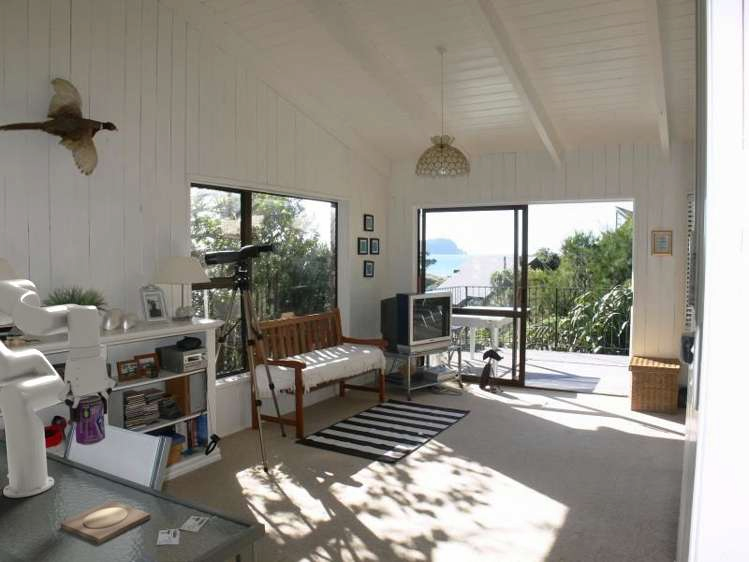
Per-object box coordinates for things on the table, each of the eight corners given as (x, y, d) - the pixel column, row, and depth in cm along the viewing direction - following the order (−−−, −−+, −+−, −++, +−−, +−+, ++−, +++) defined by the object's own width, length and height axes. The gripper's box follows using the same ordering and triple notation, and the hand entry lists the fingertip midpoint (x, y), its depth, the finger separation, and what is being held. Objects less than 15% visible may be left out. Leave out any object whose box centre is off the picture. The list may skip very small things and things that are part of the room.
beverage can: (93, 447, 154) (91, 402, 153) (70, 445, 155) (67, 401, 154) (111, 438, 160) (108, 395, 160) (88, 436, 162) (85, 394, 161)
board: (60, 527, 145) (60, 521, 145) (111, 504, 157) (111, 499, 157) (100, 543, 137) (99, 537, 137) (150, 518, 149) (150, 512, 149)
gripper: (106, 345, 165) (109, 407, 167) (44, 357, 150) (49, 424, 152) (122, 347, 161) (126, 410, 163) (61, 359, 147) (66, 429, 148)
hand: (89, 417), depth 157 cm, fingers closed on beverage can, 7 cm apart
